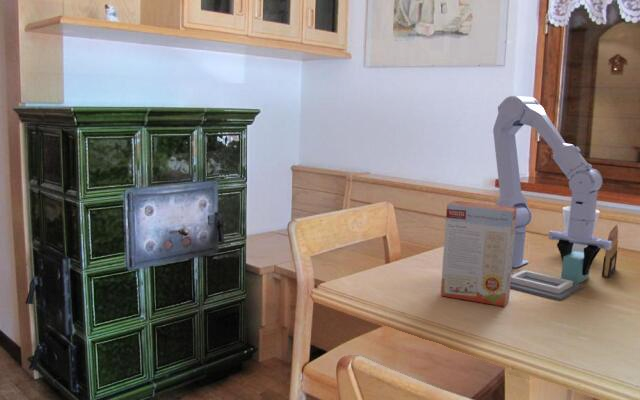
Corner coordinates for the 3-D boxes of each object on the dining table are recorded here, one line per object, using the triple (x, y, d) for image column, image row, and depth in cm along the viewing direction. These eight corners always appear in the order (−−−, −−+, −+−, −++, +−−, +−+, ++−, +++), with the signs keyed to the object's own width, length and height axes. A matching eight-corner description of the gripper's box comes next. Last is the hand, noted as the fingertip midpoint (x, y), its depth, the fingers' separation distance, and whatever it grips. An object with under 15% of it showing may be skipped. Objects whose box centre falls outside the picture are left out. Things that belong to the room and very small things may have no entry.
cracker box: (509, 300, 136) (518, 206, 132) (504, 308, 130) (513, 210, 127) (446, 289, 142) (453, 199, 138) (439, 296, 136) (446, 203, 133)
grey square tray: (497, 284, 146) (497, 277, 146) (522, 273, 157) (523, 266, 156) (560, 300, 137) (561, 292, 136) (582, 287, 147) (583, 280, 147)
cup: (562, 247, 186) (567, 204, 184) (598, 253, 180) (603, 209, 178) (553, 253, 178) (558, 209, 176) (590, 260, 172) (595, 214, 170)
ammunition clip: (609, 277, 156) (615, 231, 154) (601, 276, 157) (607, 230, 155) (615, 268, 165) (620, 224, 163) (607, 267, 166) (613, 223, 164)
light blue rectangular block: (560, 280, 152) (563, 256, 151) (572, 273, 158) (575, 251, 157) (577, 283, 150) (580, 259, 149) (588, 277, 156) (591, 254, 155)
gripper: (546, 216, 153) (540, 269, 155) (607, 226, 144) (600, 282, 146) (557, 212, 158) (551, 263, 161) (617, 222, 149) (610, 276, 151)
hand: (575, 272), depth 154 cm, fingers closed on light blue rectangular block, 4 cm apart
